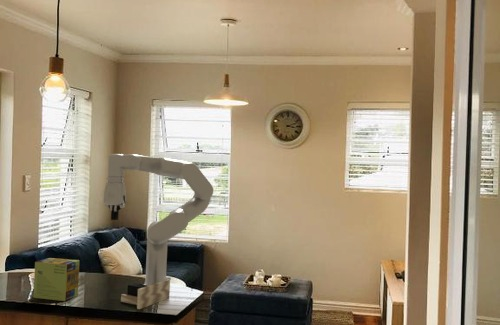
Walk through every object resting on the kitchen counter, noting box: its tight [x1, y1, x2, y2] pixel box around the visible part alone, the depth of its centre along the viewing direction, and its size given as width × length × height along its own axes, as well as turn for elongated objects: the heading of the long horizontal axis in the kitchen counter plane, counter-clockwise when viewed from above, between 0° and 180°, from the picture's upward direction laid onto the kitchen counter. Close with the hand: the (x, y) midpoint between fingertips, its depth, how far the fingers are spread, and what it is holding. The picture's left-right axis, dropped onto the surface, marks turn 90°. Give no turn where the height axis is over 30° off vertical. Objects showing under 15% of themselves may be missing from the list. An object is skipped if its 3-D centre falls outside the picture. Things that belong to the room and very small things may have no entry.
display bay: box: [120, 279, 171, 310], centre depth 220 cm, size 21×13×8 cm, turn 154°
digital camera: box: [126, 282, 147, 297], centre depth 220 cm, size 10×5×7 cm, turn 62°
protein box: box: [32, 257, 80, 302], centre depth 222 cm, size 10×15×16 cm
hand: (114, 219), depth 239 cm, fingers closed
